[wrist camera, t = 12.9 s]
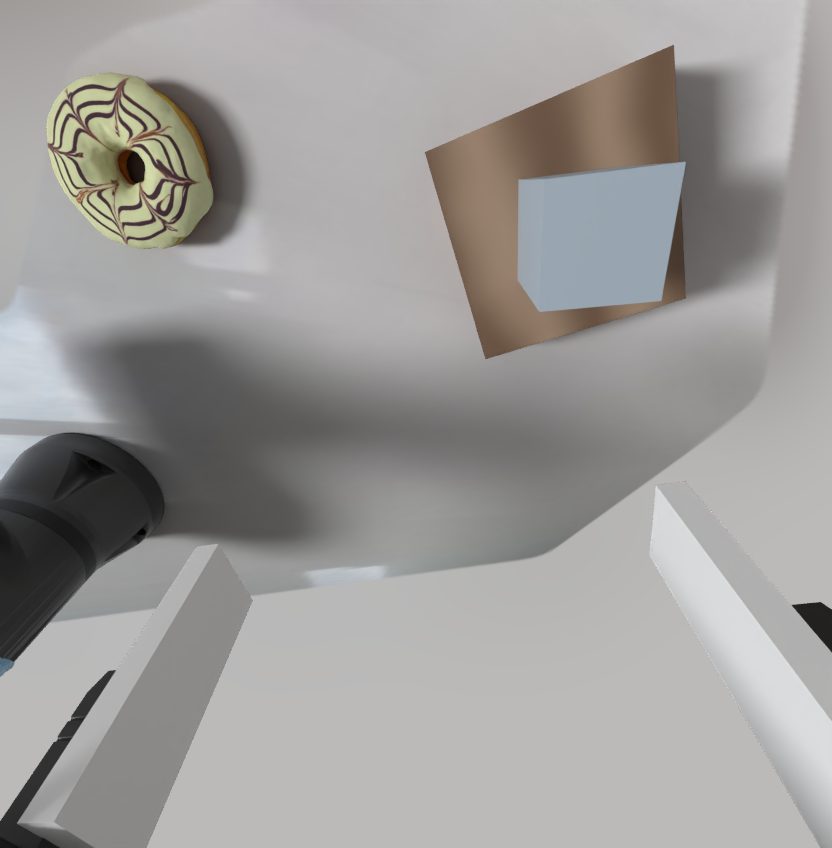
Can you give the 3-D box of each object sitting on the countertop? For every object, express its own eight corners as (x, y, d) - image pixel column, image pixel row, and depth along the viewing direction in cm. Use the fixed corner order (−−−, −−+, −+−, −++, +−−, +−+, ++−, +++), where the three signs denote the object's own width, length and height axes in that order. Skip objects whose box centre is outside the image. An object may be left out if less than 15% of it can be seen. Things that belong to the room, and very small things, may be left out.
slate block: (517, 280, 29) (539, 311, 22) (518, 179, 26) (544, 179, 19) (608, 271, 28) (661, 301, 21) (620, 166, 25) (686, 161, 18)
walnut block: (480, 334, 37) (485, 359, 32) (428, 157, 30) (424, 152, 25) (649, 280, 34) (685, 298, 29) (631, 70, 27) (673, 44, 22)
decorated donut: (248, 198, 32) (227, 200, 29) (154, 268, 36) (125, 277, 32) (147, 45, 28) (108, 27, 25) (49, 140, 31) (3, 135, 28)
